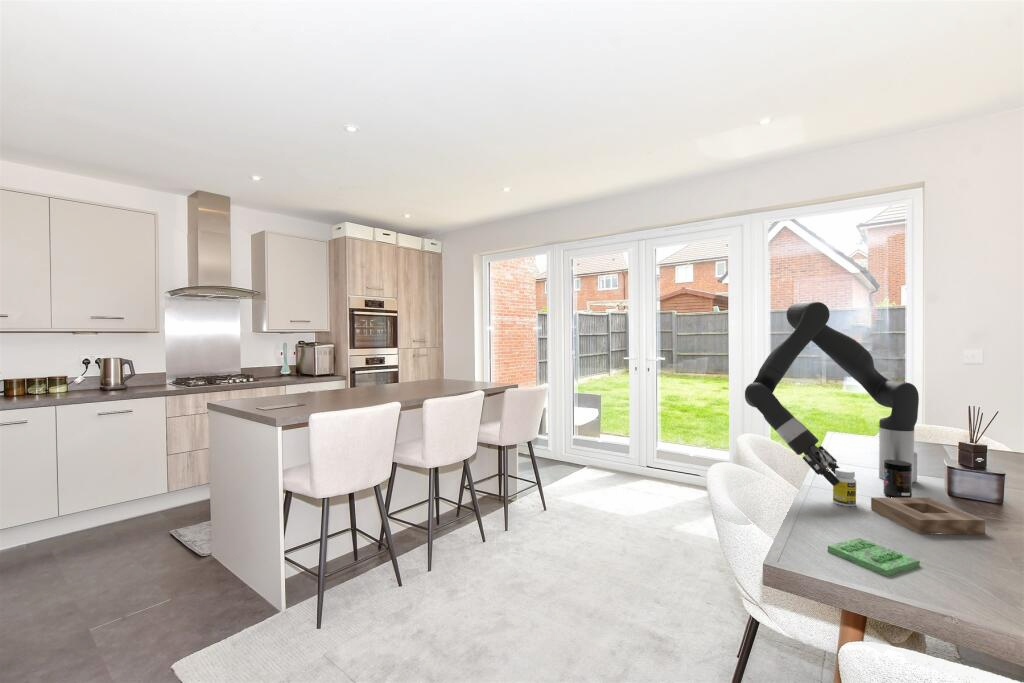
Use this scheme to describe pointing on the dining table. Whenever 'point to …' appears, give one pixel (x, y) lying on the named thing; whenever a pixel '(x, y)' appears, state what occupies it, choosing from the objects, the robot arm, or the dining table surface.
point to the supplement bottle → (845, 487)
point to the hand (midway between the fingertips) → (840, 480)
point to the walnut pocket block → (928, 516)
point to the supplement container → (897, 479)
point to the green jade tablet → (873, 556)
